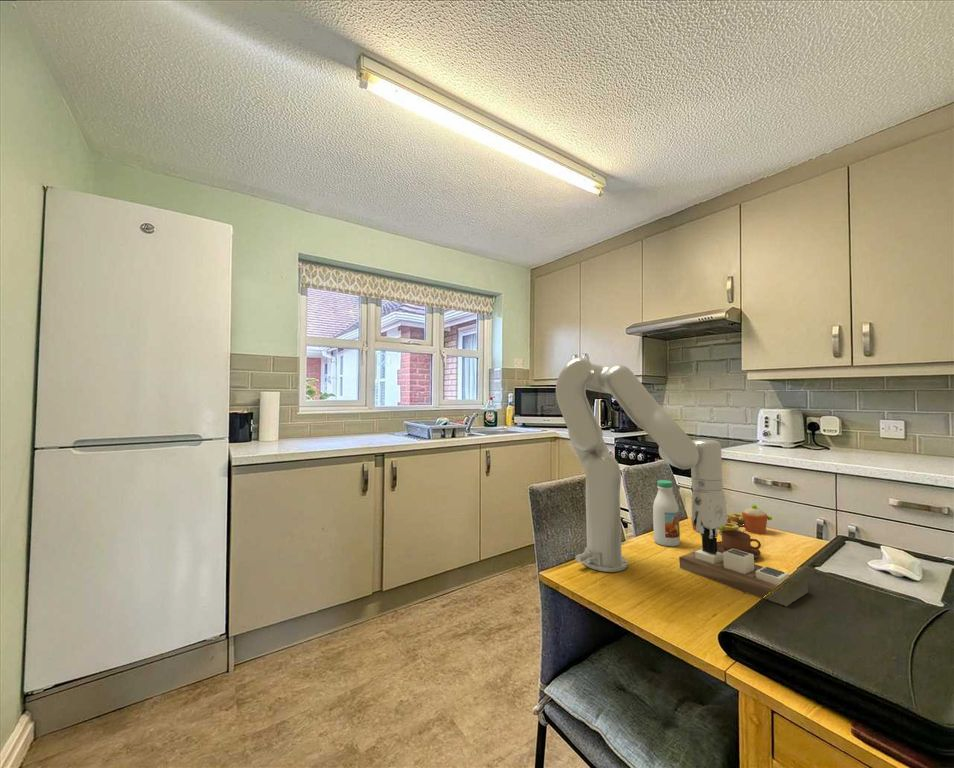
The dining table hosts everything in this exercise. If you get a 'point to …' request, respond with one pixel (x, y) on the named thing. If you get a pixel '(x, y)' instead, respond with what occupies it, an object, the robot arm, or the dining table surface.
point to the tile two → (738, 561)
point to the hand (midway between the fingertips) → (709, 551)
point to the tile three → (771, 575)
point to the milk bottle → (666, 515)
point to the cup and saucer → (737, 542)
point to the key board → (727, 575)
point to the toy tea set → (746, 521)
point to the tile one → (709, 556)
